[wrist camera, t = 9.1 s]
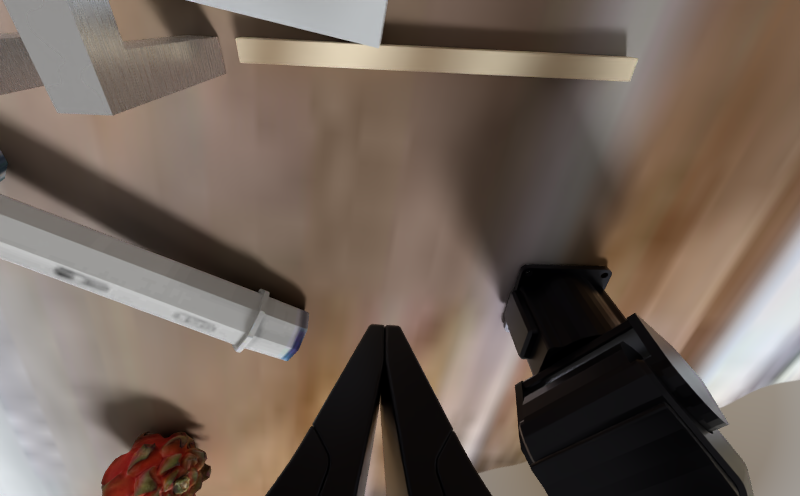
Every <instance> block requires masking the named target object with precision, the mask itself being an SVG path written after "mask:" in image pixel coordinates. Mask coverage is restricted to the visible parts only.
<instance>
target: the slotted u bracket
mask: <svg viewBox="0 0 800 496" xmlns="http://www.w3.org/2000/svg"><path fill="white" fill-rule="evenodd" d="M3 2H4V4H5V6H6V8H7V10H8V12H9V14H10V16H11V18H12V20H13V22H14V25H15V27H16V29H17V31H18V33H0V95H2V94H7V93H12V92H16V91H21V90H26V89H31V88H35V87H40V86H45V88H46V90H47V92H48V95H49V97H50V99H51V101H52V103H53V105H54V107H55V109H56V111H57V113H68V114H92V115H115V114H118V113H121V112H123V111H126V110H129V109H131V108H134V107H137V106H140V105H142V104H145V103H148V102H150V101H153V100H156V99H158V98H161V97H164V96H167V95H169V94H172V93H175V92H177V91H180V90H183V89H186V88H188V87H191V86H194V85H196V84H199V83H202V82H205V81H207V80H210V79H213V78H215V77H218V76H221V75H224V74H226V72H225V68H224V63H223V58H222V54H221V49H220V44H219V39H218V37H213V36H193V35H179V36H170V37H161V38H151V39H142V40H133V41H124V42H123V41H122V38H121V36H120V33H119V30H118V27H117V24H116V21H115V18H114V15H113V13H112V10H111V7H110V4H109V1H108V0H3Z"/></svg>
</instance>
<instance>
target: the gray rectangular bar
mask: <svg viewBox="0 0 800 496" xmlns="http://www.w3.org/2000/svg"><path fill="white" fill-rule="evenodd" d="M187 1H191V2H195V3H199V4H203V5H207V6H211V7H215V8H219V9H223V10H227V11H231V12H235V13H239V14H243V15H247V16H251V17H255V18H259V19H263V20H267V21H271V22H275V23H279V24H283V25H287V26H291V27H295V28H299V29H303V30H307V31H311V32H315V33H319V34H323V35H327V36H331V37H335V38H339V39H343V40H347V41H351V42H355V43H359V44H363V45H367V46H371V47H375V48H379V47H380V44H381V40H382V34H383V28H384V22H385V16H386V10H387V4H388V0H187Z"/></svg>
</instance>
